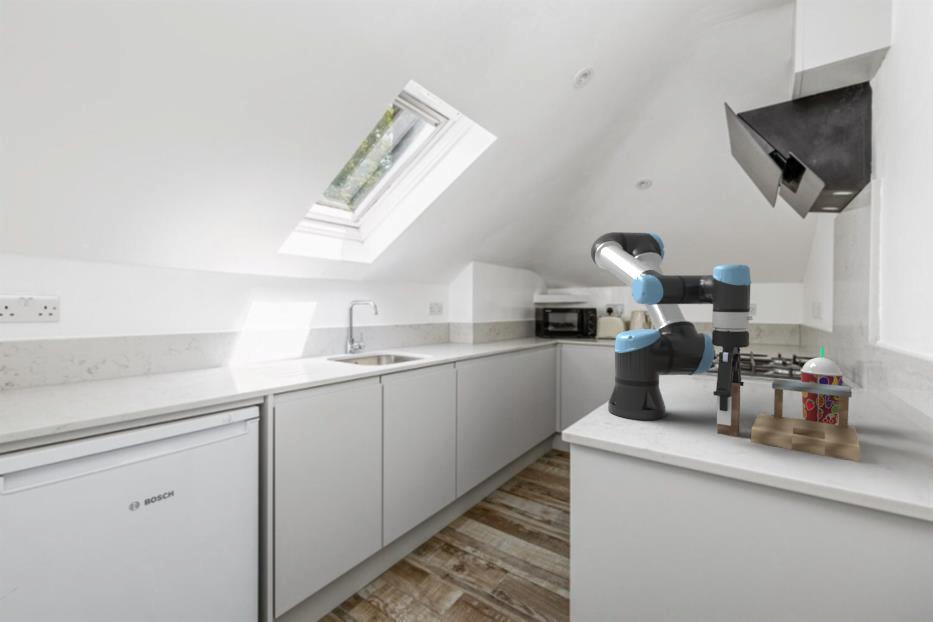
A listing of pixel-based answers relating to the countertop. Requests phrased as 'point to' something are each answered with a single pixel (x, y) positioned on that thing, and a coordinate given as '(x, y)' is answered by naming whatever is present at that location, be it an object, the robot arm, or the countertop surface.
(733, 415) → the peg
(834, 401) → the smoothie
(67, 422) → the countertop surface
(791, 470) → the countertop surface
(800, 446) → the socket board
